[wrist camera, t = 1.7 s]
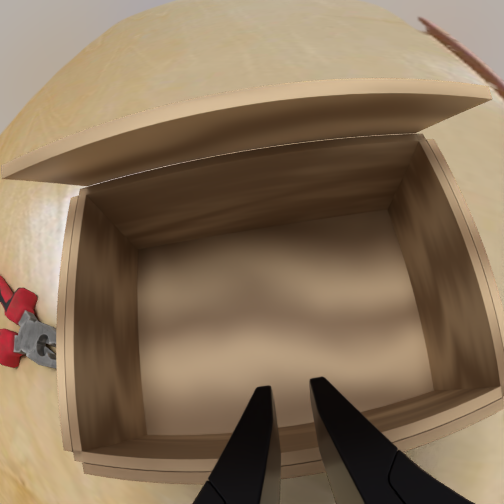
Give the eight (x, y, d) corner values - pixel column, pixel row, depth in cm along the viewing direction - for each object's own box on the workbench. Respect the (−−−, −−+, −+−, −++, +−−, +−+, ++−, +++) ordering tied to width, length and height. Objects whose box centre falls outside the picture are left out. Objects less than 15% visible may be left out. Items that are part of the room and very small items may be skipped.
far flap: (492, 99, 9) (488, 86, 9) (1, 178, 10) (1, 165, 10) (414, 133, 17) (412, 124, 17) (87, 186, 18) (86, 177, 18)
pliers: (-52, 322, 23) (50, 409, 18) (-32, 256, 26) (78, 304, 21) (-35, 328, 26) (74, 410, 21) (-16, 265, 29) (100, 314, 24)
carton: (446, 400, 18) (519, 399, 10) (137, 448, 19) (67, 470, 11) (396, 205, 25) (430, 133, 17) (127, 248, 26) (72, 191, 18)
